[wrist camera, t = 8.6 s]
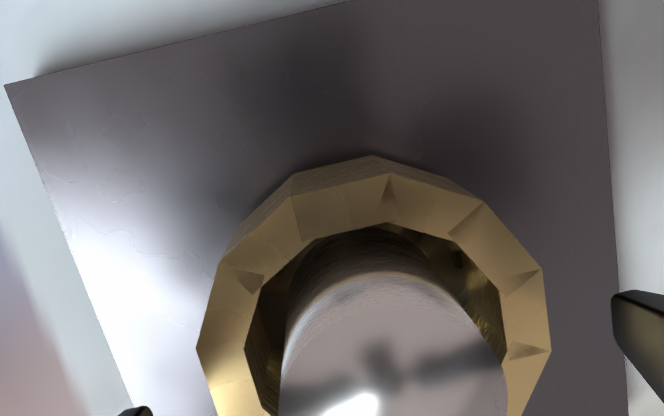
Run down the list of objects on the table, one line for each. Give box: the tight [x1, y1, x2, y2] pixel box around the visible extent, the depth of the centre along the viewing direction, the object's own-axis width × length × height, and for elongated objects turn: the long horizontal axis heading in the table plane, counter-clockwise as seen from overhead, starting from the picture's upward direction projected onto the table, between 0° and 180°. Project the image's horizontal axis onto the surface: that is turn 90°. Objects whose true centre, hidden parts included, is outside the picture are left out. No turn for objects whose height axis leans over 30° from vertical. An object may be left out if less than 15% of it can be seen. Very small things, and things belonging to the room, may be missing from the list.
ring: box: [196, 155, 551, 416], centre depth 10 cm, size 7×7×2 cm
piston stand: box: [4, 0, 629, 416], centre depth 10 cm, size 14×14×6 cm
